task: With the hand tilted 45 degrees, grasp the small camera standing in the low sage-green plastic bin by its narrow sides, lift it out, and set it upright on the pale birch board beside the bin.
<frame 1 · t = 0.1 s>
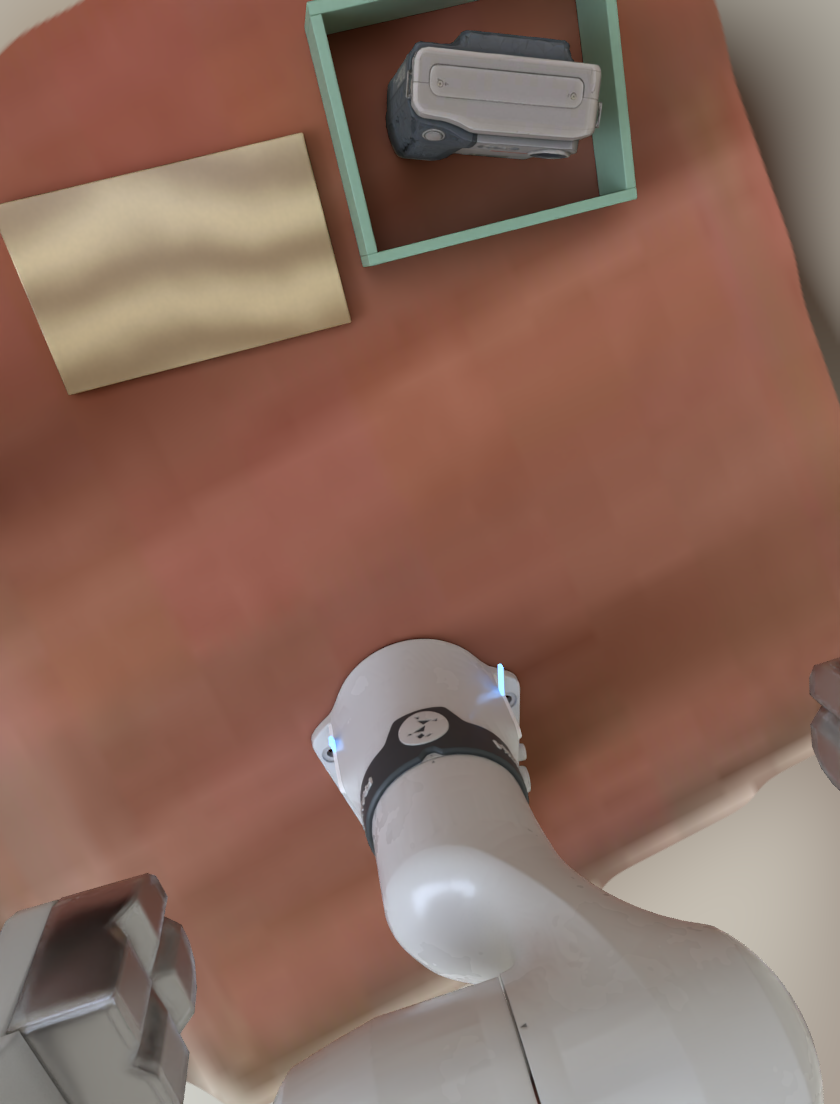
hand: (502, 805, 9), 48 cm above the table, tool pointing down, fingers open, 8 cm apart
camera: (466, 122, 49), resting in bin
board: (183, 268, 49), on the table
bin: (467, 121, 49), on the table
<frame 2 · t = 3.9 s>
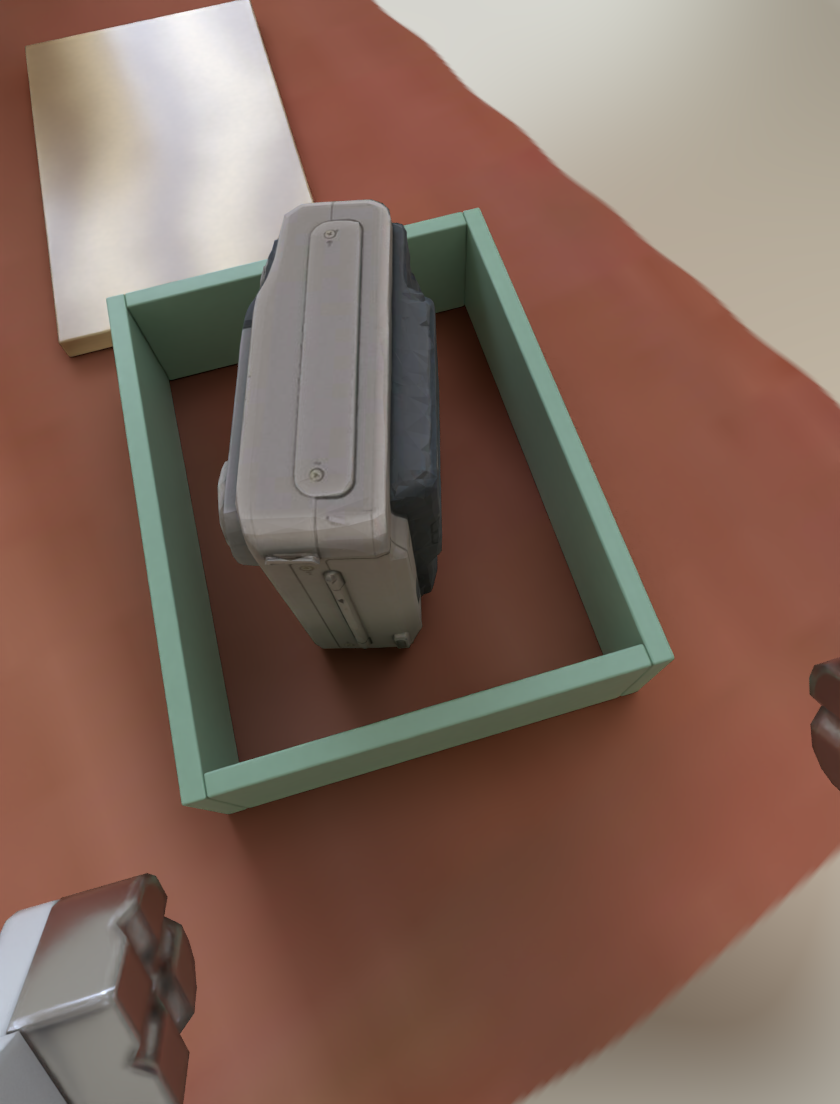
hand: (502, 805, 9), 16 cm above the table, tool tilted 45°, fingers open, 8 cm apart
camera: (369, 517, 28), resting in bin
board: (172, 167, 36), on the table
bin: (369, 515, 28), on the table
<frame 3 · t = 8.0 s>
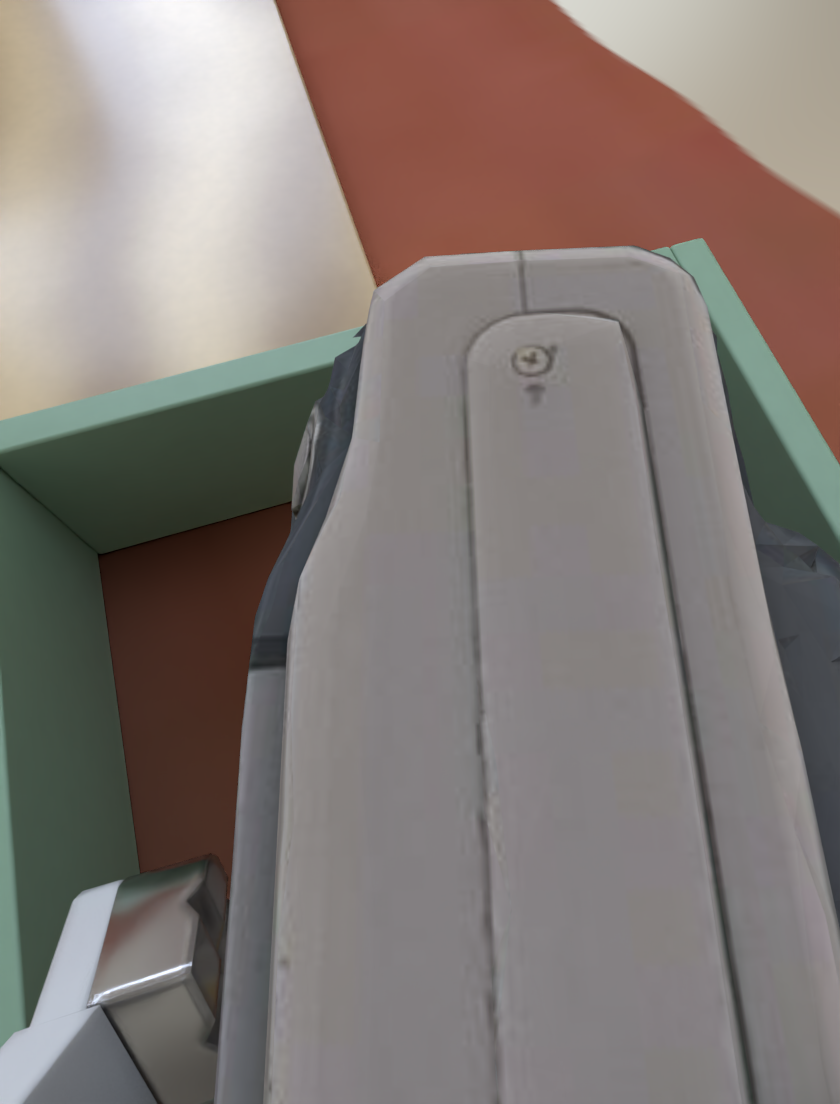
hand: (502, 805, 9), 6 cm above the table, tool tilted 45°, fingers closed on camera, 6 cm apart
camera: (491, 858, 14), resting in bin, touching gripper
board: (116, 165, 22), on the table
bin: (487, 853, 14), on the table
when the fingers open (7 cm above the table, at t = 16.5 s): camera stays where it is, resting on board.
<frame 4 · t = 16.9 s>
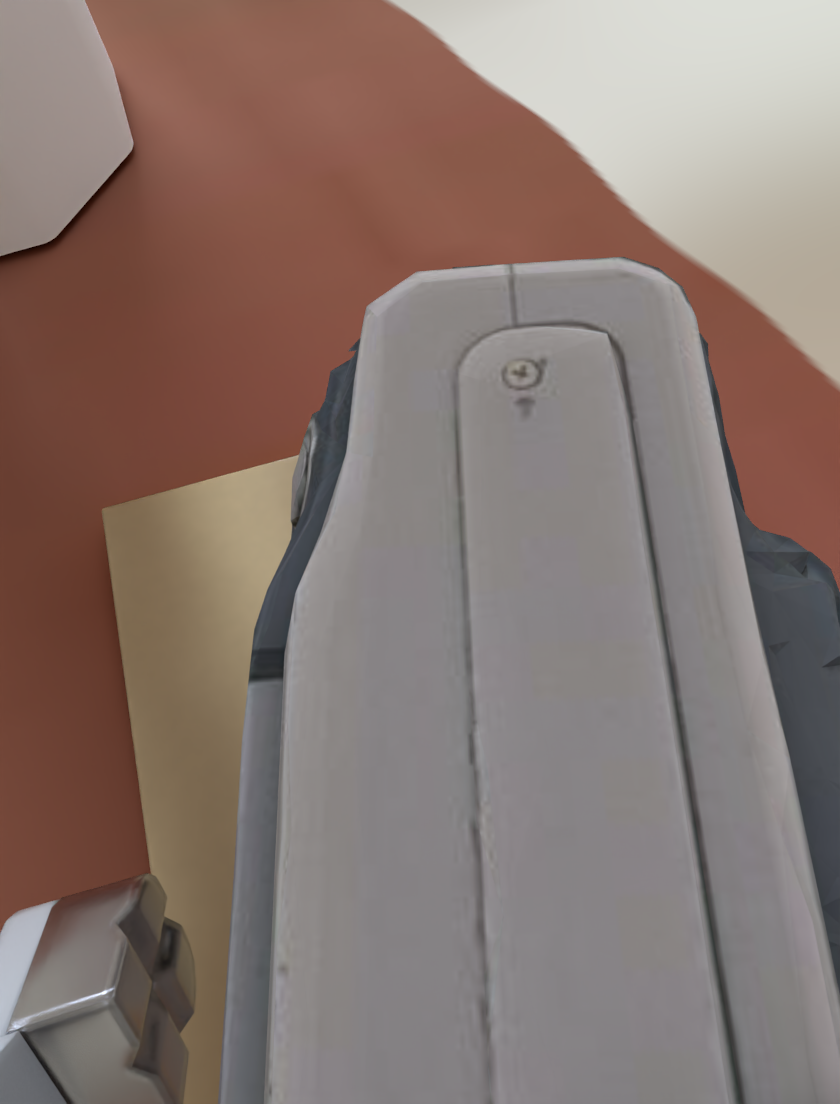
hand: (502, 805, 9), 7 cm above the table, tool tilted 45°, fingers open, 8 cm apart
camera: (497, 859, 14), point 1 cm above the table, touching board
board: (468, 868, 15), on the table
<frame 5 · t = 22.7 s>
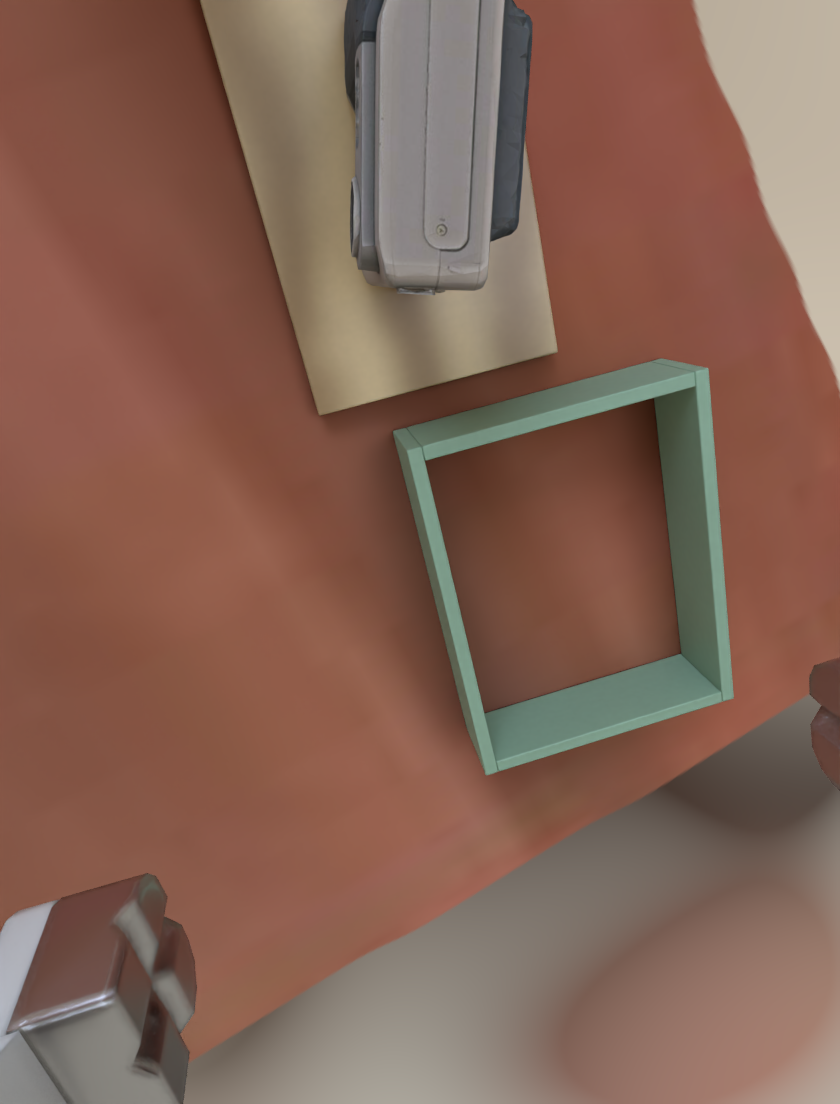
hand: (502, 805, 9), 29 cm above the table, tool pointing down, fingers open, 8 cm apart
camera: (402, 151, 32), point 1 cm above the table, touching board
board: (387, 157, 32), on the table
bin: (557, 556, 41), on the table
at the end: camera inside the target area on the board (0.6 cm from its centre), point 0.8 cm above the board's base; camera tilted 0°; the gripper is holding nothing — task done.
